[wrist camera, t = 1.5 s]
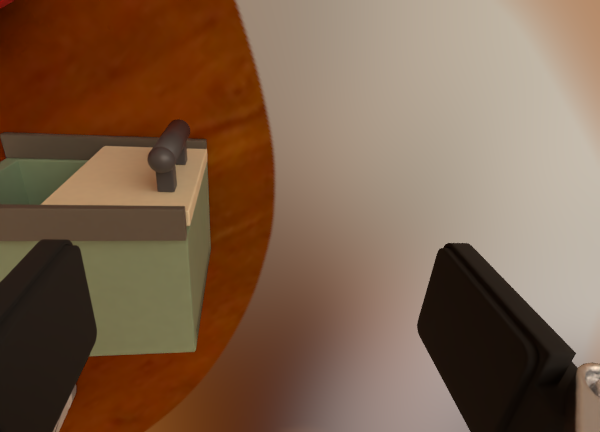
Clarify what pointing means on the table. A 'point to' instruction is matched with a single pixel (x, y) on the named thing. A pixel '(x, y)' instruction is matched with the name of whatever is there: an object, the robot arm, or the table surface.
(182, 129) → the door
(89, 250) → the cupboard
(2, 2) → the tomato
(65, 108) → the table surface
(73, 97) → the table surface
